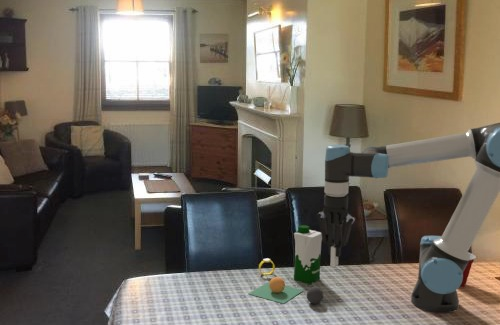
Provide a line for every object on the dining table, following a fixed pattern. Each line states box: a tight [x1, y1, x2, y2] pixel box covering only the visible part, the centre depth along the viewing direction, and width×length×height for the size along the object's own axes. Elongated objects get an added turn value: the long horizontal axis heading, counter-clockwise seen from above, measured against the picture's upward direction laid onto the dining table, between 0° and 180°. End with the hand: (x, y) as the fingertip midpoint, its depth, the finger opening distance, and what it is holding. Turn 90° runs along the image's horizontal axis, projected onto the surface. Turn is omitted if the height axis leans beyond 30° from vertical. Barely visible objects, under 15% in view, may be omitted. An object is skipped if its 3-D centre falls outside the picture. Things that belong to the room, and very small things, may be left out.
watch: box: [258, 257, 276, 276], centre depth 212 cm, size 6×3×6 cm, turn 106°
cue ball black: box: [306, 286, 324, 305], centre depth 187 cm, size 6×6×6 cm
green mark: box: [248, 280, 304, 305], centre depth 196 cm, size 14×14×1 cm
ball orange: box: [269, 276, 286, 293], centre depth 195 cm, size 6×6×6 cm
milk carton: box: [293, 224, 323, 285], centre depth 206 cm, size 9×9×20 cm
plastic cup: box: [459, 251, 477, 288], centre depth 206 cm, size 11×11×12 cm
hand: (334, 265), depth 182 cm, fingers closed
